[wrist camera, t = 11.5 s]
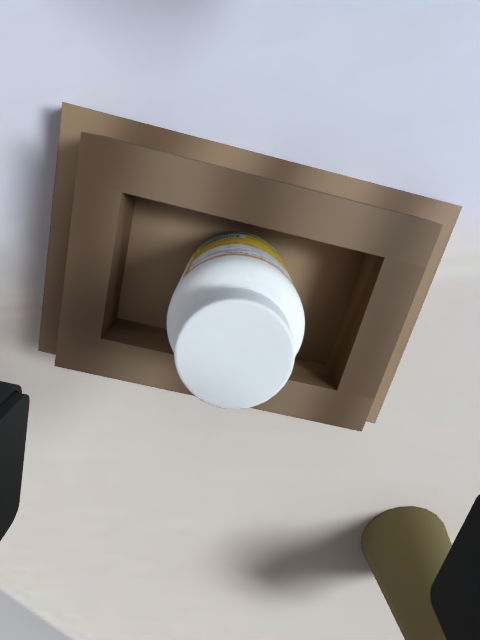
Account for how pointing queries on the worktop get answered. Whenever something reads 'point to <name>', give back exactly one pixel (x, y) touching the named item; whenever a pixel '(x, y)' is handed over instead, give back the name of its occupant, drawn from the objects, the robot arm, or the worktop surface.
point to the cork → (408, 566)
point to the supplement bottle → (235, 322)
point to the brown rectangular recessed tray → (222, 217)
